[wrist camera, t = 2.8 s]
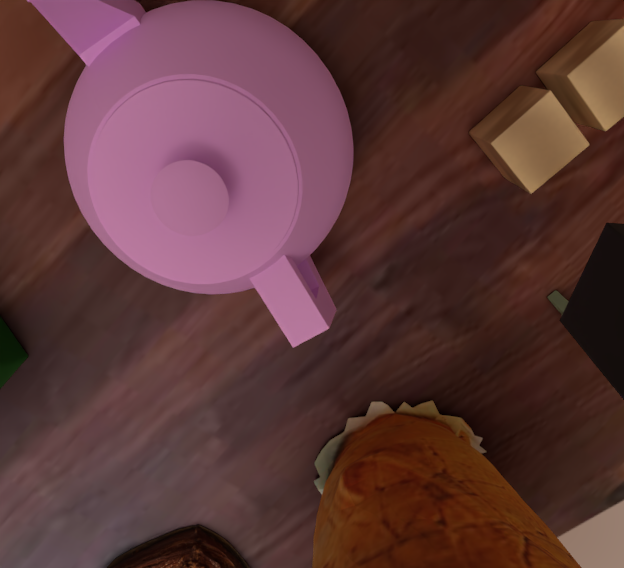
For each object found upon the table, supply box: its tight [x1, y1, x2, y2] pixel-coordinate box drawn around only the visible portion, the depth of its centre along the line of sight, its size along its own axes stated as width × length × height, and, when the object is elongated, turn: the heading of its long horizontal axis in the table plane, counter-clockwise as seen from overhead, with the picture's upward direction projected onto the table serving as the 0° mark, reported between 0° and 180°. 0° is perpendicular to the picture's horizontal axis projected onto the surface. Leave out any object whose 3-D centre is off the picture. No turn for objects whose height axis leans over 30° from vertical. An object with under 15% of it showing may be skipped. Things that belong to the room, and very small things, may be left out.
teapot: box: [27, 0, 354, 348], centre depth 28 cm, size 22×16×12 cm
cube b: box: [469, 85, 589, 194], centre depth 32 cm, size 4×4×4 cm
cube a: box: [536, 19, 624, 131], centre depth 31 cm, size 4×4×4 cm
